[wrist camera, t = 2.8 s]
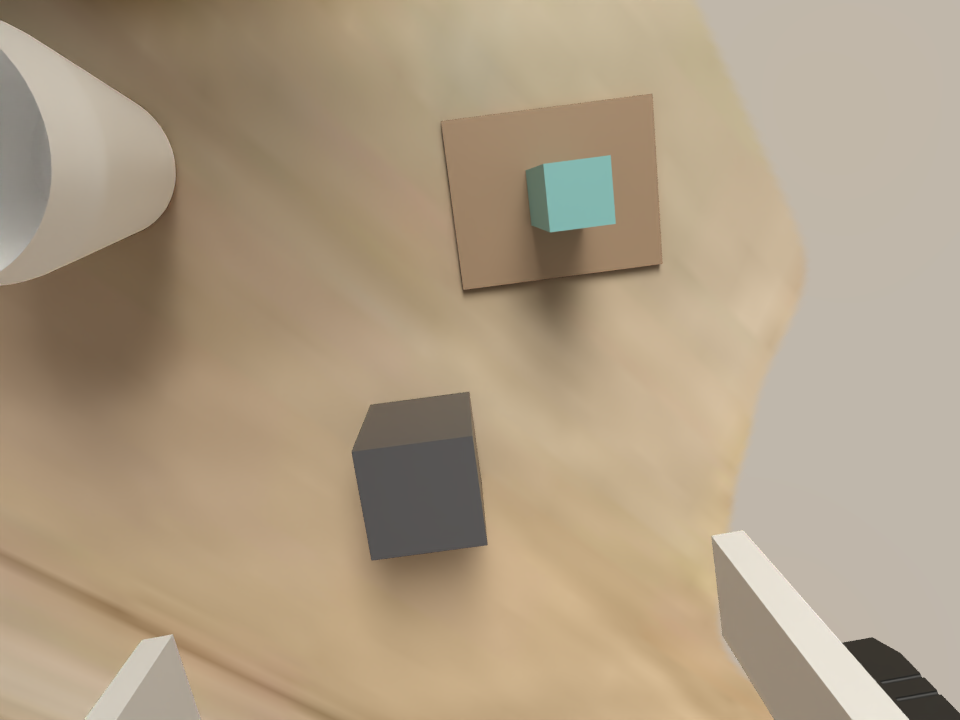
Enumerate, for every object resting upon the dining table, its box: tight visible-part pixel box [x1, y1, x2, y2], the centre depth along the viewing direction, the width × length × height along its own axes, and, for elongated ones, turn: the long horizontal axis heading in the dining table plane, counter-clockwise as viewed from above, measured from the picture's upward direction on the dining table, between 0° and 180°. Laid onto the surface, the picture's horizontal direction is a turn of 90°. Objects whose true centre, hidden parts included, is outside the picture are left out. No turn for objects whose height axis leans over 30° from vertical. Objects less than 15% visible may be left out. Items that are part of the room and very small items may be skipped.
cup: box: [0, 20, 176, 286], centre depth 26 cm, size 9×9×12 cm
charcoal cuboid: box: [352, 392, 487, 560], centre depth 32 cm, size 5×5×7 cm
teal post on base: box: [441, 94, 662, 290], centre depth 29 cm, size 10×8×7 cm
